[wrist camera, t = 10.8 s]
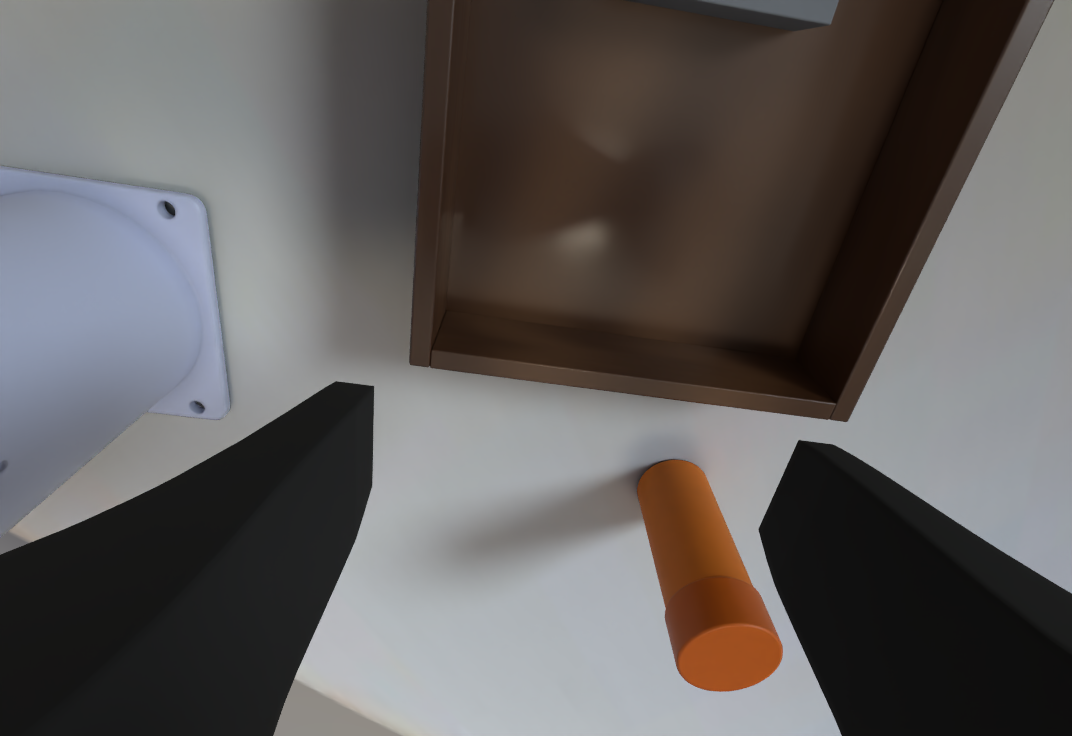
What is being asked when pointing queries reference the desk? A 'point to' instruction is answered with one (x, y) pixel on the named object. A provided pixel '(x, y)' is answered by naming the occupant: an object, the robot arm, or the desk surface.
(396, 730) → the desk surface
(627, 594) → the desk surface
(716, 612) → the glue stick
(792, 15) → the eraser
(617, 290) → the box
